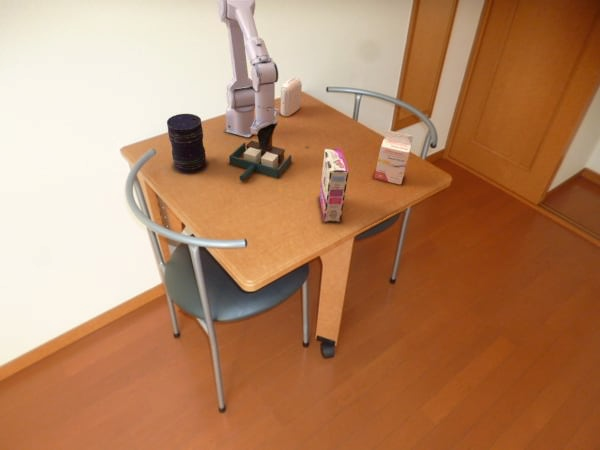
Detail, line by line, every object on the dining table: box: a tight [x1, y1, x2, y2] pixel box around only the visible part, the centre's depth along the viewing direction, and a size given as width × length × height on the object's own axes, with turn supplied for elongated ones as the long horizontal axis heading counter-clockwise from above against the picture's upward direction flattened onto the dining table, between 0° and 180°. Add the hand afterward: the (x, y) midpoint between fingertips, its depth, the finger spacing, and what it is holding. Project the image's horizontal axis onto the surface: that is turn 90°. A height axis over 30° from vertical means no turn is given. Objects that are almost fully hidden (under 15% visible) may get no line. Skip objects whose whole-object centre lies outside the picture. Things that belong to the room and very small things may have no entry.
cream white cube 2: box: [260, 152, 279, 169], centre depth 130 cm, size 4×4×4 cm
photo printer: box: [279, 77, 303, 117], centre depth 158 cm, size 10×4×12 cm, turn 149°
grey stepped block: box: [246, 134, 286, 165], centre depth 132 cm, size 12×4×8 cm, turn 67°
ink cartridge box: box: [374, 129, 414, 185], centre depth 125 cm, size 9×5×15 cm, turn 71°
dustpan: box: [228, 142, 292, 183], centre depth 129 cm, size 17×16×3 cm
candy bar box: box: [318, 148, 350, 223], centre depth 111 cm, size 11×5×16 cm, turn 5°
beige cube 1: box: [243, 147, 261, 164], centre depth 132 cm, size 4×4×4 cm
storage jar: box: [166, 113, 207, 175], centre depth 126 cm, size 10×10×15 cm
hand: (265, 144), depth 132 cm, fingers closed on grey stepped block, 2 cm apart
